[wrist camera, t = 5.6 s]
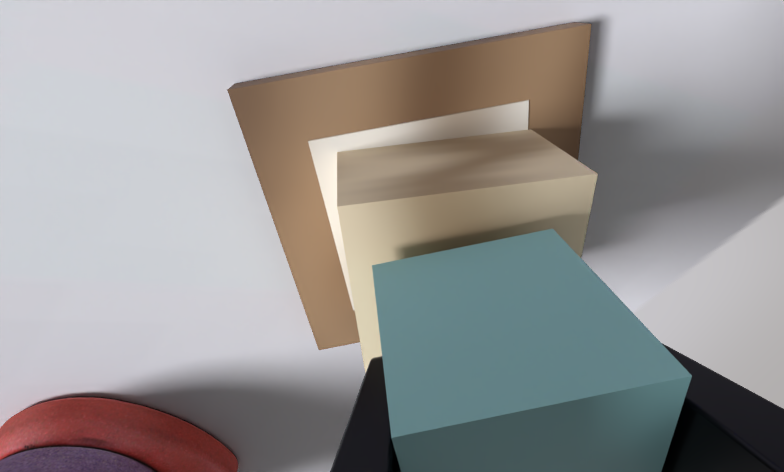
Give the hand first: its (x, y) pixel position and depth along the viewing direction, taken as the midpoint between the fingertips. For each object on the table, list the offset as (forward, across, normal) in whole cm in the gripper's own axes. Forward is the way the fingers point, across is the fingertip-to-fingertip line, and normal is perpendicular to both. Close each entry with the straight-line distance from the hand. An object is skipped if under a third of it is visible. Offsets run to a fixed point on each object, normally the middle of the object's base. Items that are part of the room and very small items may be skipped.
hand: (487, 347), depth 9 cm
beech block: (+6, 0, 0) cm, 6 cm away
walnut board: (+8, 0, 0) cm, 8 cm away
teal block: (+2, 0, +1) cm, 2 cm away
